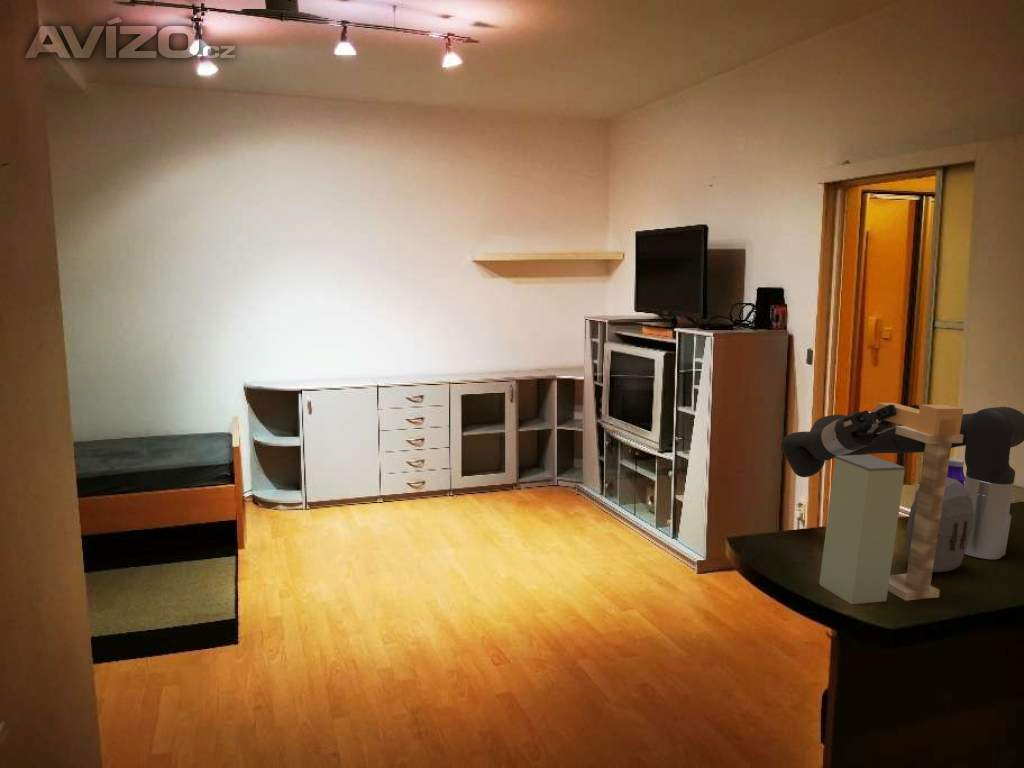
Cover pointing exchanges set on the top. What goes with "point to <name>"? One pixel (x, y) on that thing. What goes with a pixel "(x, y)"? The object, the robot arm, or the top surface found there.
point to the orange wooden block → (928, 418)
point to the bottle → (956, 470)
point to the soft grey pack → (948, 526)
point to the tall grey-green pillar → (861, 528)
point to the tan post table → (925, 516)
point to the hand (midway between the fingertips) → (905, 409)
